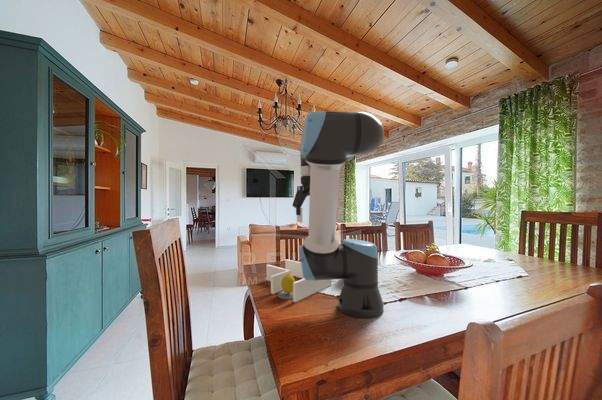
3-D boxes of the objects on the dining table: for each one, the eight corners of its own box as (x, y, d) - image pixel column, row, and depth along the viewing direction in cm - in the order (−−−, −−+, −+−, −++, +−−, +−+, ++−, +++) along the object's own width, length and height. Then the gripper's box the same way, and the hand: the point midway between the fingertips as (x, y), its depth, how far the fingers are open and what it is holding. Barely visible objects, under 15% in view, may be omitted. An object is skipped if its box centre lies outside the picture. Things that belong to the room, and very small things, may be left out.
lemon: (292, 297, 97) (292, 276, 96) (279, 295, 99) (278, 275, 98) (297, 292, 102) (297, 272, 102) (284, 290, 104) (284, 271, 104)
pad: (302, 294, 100) (302, 293, 100) (288, 301, 94) (288, 300, 94) (288, 289, 106) (288, 288, 106) (273, 295, 100) (273, 294, 100)
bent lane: (331, 285, 110) (331, 269, 110) (295, 302, 93) (295, 283, 93) (287, 273, 128) (286, 259, 128) (250, 285, 111) (250, 269, 111)
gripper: (318, 177, 132) (319, 218, 132) (284, 175, 113) (284, 222, 114) (330, 176, 127) (331, 219, 127) (296, 174, 108) (297, 224, 109)
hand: (309, 221), depth 121 cm, fingers open, 13 cm apart
